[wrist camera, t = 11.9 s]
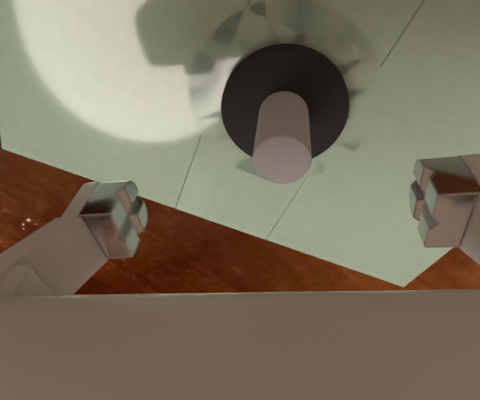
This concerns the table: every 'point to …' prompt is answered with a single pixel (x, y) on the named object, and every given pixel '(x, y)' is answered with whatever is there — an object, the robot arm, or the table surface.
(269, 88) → the stopper
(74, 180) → the table surface
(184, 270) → the table surface
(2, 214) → the table surface
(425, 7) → the drain plate
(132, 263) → the table surface
